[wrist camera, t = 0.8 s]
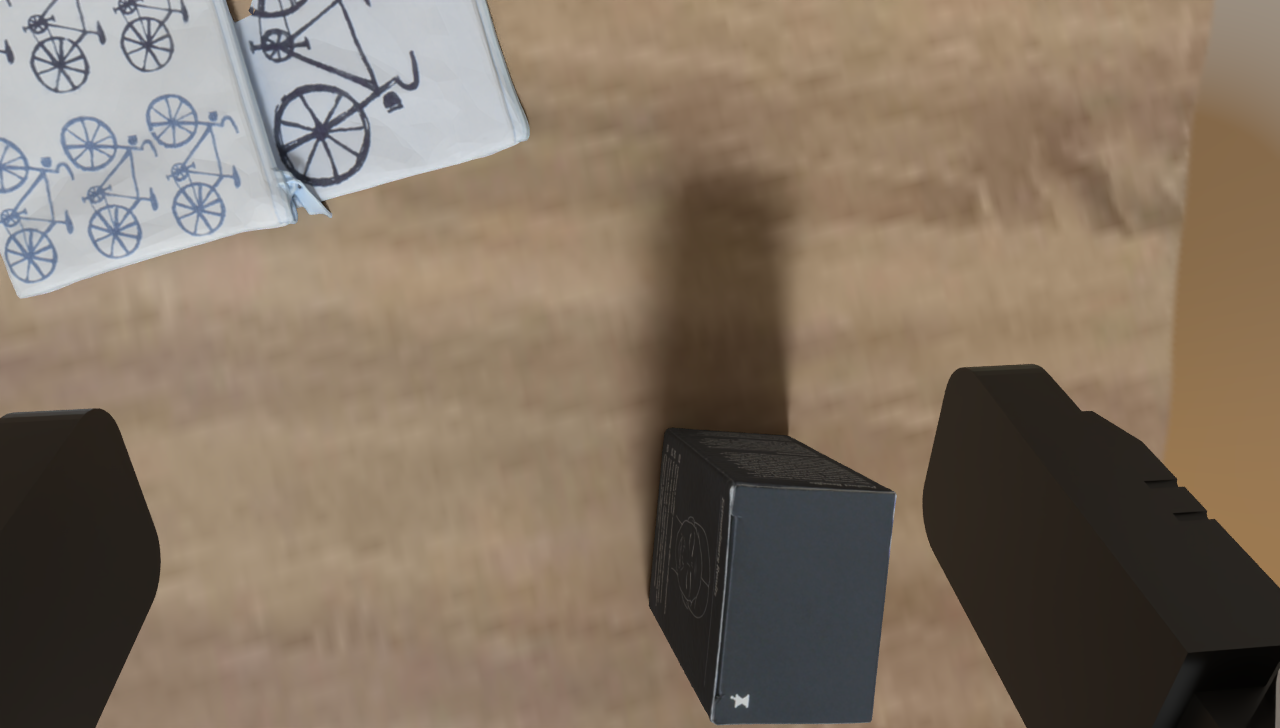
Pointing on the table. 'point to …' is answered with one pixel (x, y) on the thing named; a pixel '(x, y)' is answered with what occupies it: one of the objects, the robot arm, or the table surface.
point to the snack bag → (225, 118)
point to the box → (770, 577)
